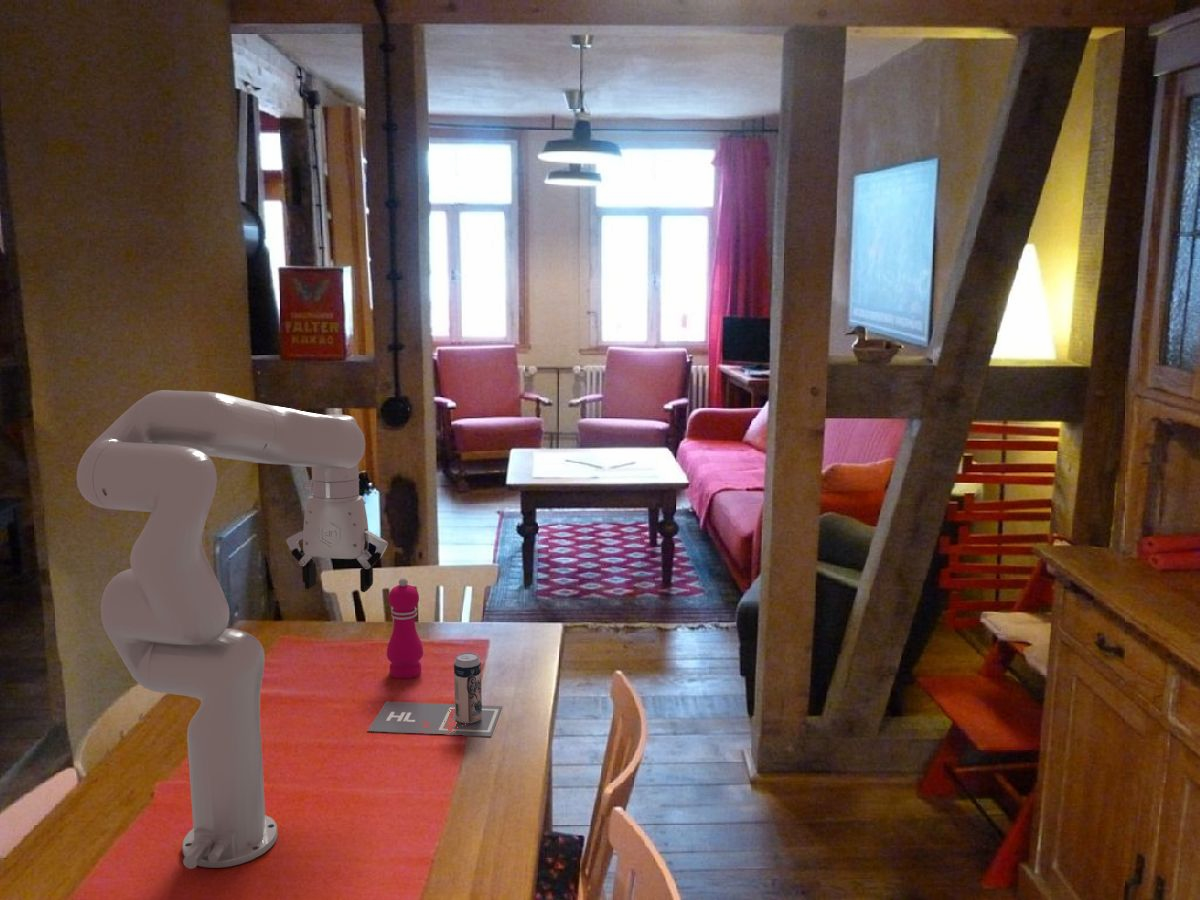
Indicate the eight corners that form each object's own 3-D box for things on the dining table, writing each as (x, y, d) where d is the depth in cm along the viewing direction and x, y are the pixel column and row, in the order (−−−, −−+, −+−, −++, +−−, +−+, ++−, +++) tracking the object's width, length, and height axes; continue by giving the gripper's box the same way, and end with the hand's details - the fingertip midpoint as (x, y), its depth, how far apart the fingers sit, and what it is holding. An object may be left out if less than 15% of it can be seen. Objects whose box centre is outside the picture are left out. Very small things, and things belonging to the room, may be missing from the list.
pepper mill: (431, 670, 199) (429, 576, 196) (406, 683, 193) (403, 585, 190) (404, 663, 203) (402, 570, 199) (379, 674, 197) (376, 579, 193)
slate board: (490, 737, 171) (490, 735, 171) (367, 731, 173) (367, 730, 172) (502, 707, 183) (502, 706, 183) (386, 702, 184) (386, 701, 184)
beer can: (477, 726, 174) (475, 662, 172) (451, 724, 175) (450, 660, 173) (485, 715, 179) (484, 652, 177) (460, 712, 180) (459, 650, 178)
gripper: (276, 491, 160) (279, 592, 163) (378, 495, 159) (380, 597, 161) (295, 483, 168) (298, 579, 170) (393, 486, 166) (394, 584, 169)
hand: (338, 588), depth 166 cm, fingers open, 9 cm apart
